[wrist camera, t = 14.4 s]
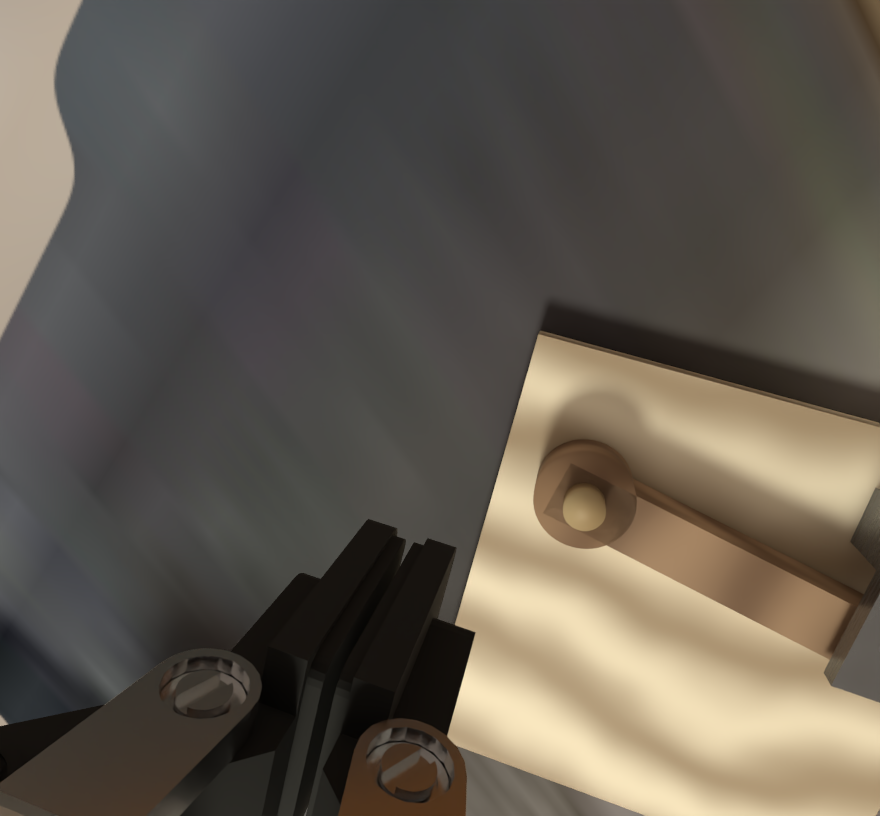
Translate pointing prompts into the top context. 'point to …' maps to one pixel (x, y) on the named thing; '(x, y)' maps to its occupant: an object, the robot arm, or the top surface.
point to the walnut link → (686, 545)
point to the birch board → (669, 602)
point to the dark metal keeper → (862, 619)
